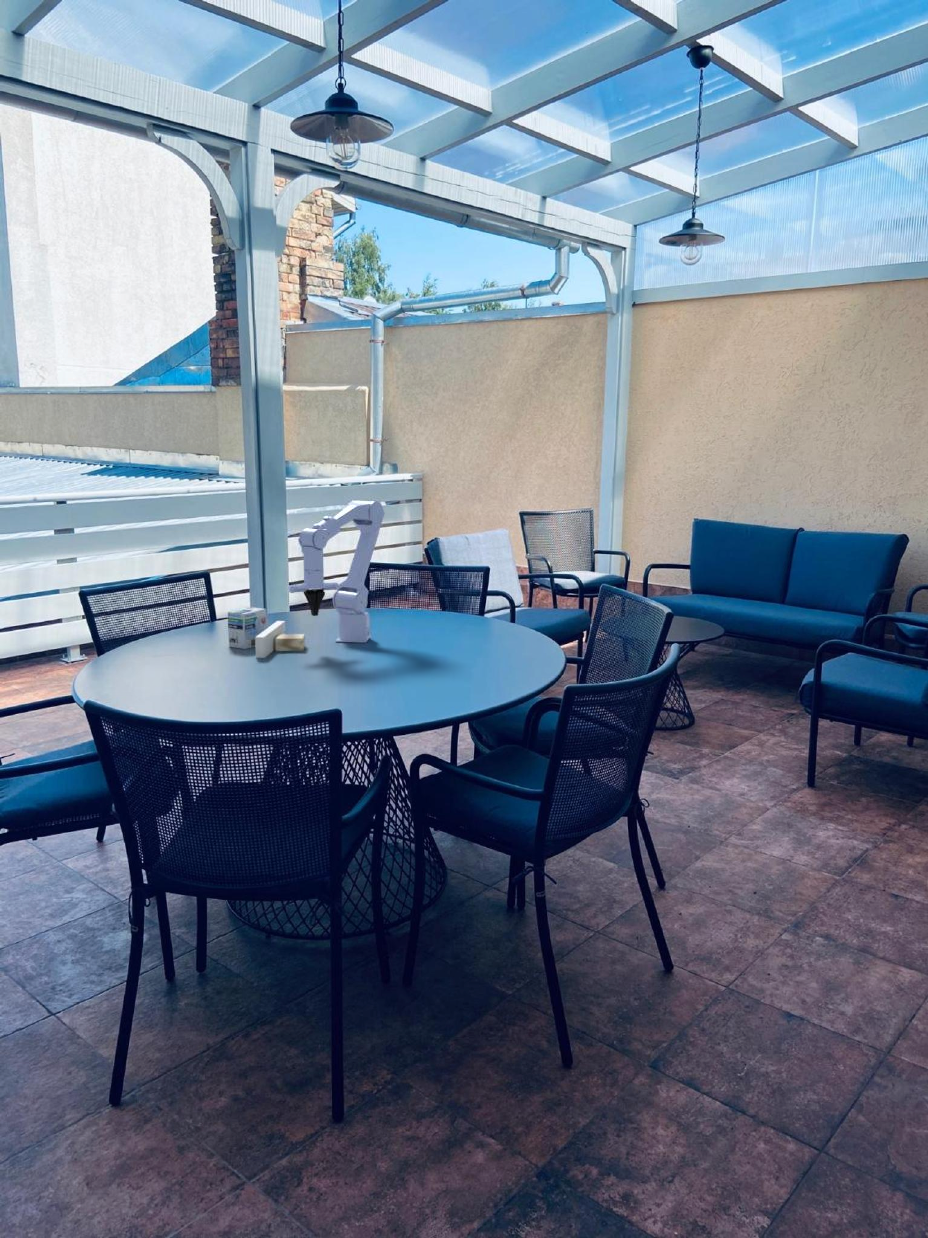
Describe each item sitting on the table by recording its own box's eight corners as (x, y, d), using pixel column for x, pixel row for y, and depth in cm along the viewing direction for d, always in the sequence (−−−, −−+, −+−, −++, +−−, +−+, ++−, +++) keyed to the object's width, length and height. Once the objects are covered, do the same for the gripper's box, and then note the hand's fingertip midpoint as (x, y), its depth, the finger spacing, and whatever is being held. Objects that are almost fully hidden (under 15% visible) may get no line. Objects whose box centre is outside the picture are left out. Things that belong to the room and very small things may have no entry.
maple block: (305, 647, 271) (304, 634, 270) (303, 651, 265) (302, 638, 264) (278, 647, 270) (277, 634, 269) (275, 651, 264) (275, 638, 263)
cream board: (285, 639, 279) (285, 621, 278) (264, 658, 255) (263, 637, 254) (277, 639, 279) (277, 620, 278) (255, 657, 255) (255, 637, 254)
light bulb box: (245, 649, 266) (244, 614, 263) (227, 647, 268) (226, 611, 266) (268, 642, 275) (267, 608, 273) (250, 640, 278) (249, 606, 276)
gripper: (332, 566, 268) (333, 611, 271) (285, 569, 262) (286, 614, 265) (340, 569, 262) (341, 615, 265) (292, 572, 256) (293, 618, 259)
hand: (314, 615), depth 264 cm, fingers closed
